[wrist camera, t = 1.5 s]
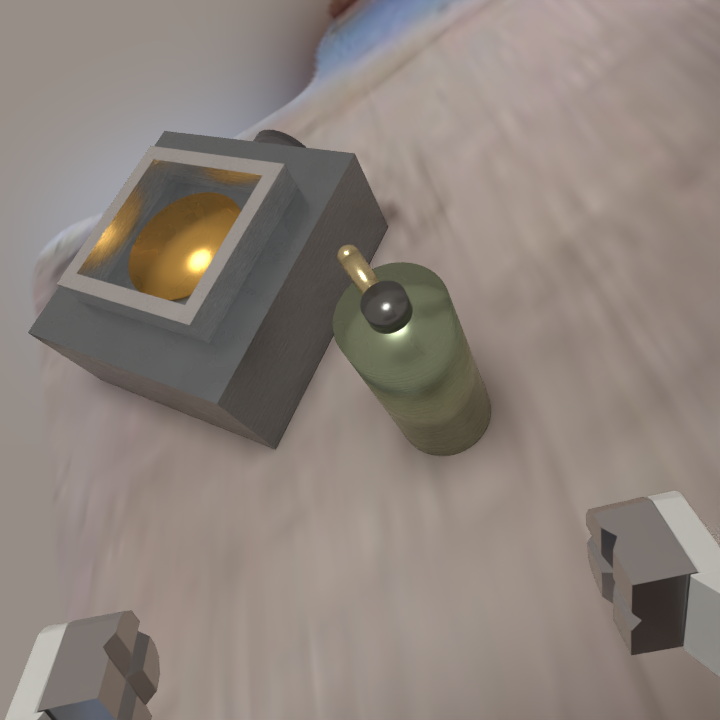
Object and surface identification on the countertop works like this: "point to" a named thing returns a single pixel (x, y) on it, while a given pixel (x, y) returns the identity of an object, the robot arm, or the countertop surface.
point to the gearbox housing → (217, 277)
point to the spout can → (412, 352)
